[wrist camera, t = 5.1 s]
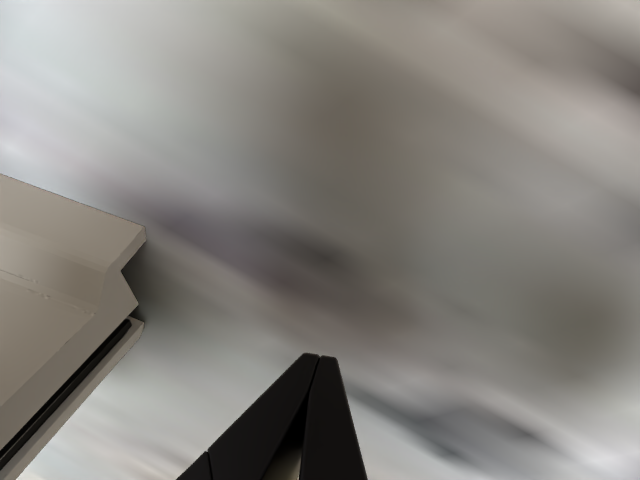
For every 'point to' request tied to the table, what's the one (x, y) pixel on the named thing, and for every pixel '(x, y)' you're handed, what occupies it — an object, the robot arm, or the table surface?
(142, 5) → the table surface
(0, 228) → the hinge
